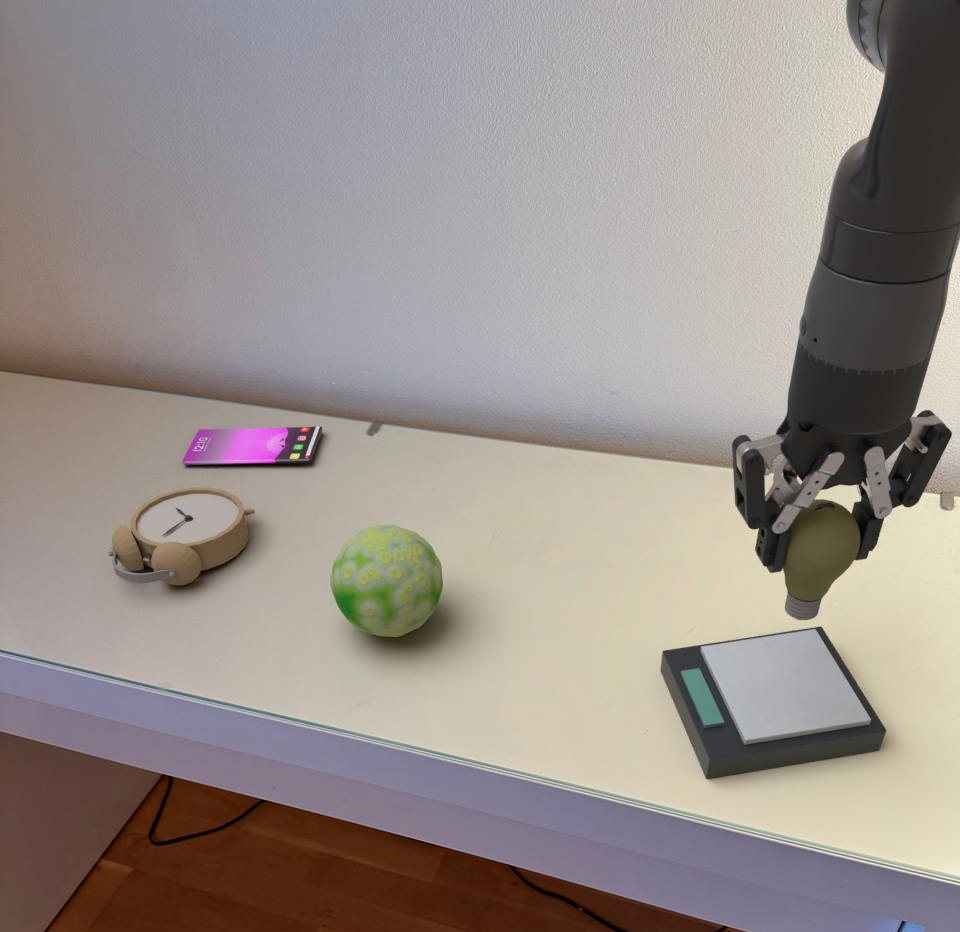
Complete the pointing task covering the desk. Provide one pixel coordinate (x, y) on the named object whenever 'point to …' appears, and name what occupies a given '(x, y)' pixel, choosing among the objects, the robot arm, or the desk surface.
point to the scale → (769, 702)
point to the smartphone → (253, 446)
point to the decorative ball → (387, 580)
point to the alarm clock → (180, 535)
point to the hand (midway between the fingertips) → (813, 558)
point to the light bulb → (817, 555)
